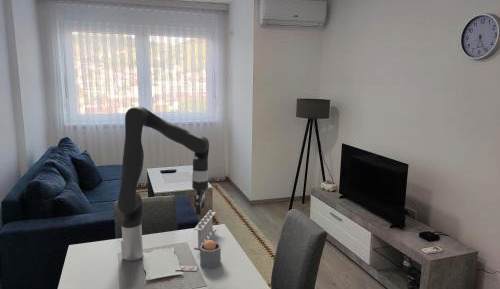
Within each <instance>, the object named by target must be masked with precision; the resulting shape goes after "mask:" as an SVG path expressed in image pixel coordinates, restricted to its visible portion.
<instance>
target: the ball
mask: <svg viewBox="0 0 500 289" xmlns="http://www.w3.org/2000/svg"><path fill="white" fill-rule="evenodd" d="M215 242H216V241H214V240H213V239H209V240H207V241H206V242H205V243H204V250H208V251H213V250H215V249H216V243H217V242H216V243H215Z"/></svg>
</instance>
